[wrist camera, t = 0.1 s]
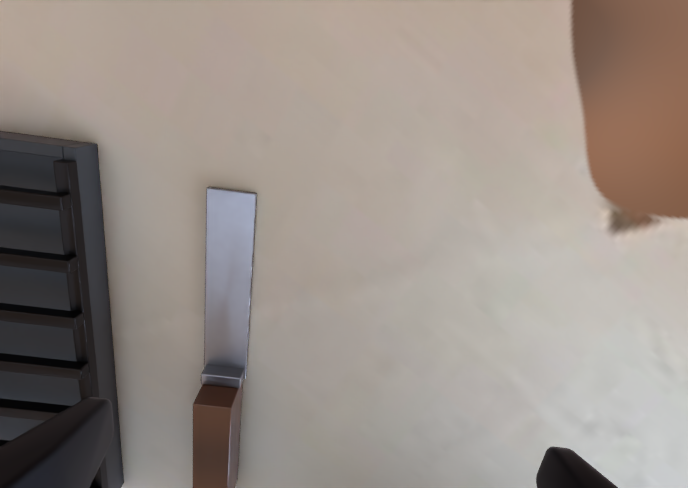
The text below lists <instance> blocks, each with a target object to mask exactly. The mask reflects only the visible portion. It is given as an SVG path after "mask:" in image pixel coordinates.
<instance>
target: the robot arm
mask: <svg viewBox="0 0 688 488" xmlns="http://www.w3.org/2000/svg"><path fill="white" fill-rule="evenodd" d="M113 435H114V422H113V411H112V403H111V401H110V400H109V399H106V398H96V397H88V398H86V399H83V400H82V401H80V402H78V403H76V404H75V405H73V406H71V407H69V408H67V409H66V410H64V411H62V412H60V413H59V414H57V415H55V416H53V417H52V418H50V419H48V420H46V421H44V422H43V423H41V424H39V425H37V426H36V427H34V428H32V429H30V430H28V431H27V432H25V433H23V434H21V435H20V436H18V437H16V438H14V439H13V440H11V441H9V442H7V443H5V444H4V445H2V446H0V488H89V487H90V485H91V483H92V481H93V479H94V477H95V475H96V473H97V471H98V469H99V467H100V465H101V463H102V461H103V459H104V457H105V455H106V453H107V450H108V448H109V446H110V444H111V442H112V439H113ZM536 483H537V488H618V487H616V486H615V485H614V484H613V483H612V482H610V481H609V480H608V479H607V478H605V477H604V476H603V475H602V474H601V473H599V472H598V471H597V470H596V469H594V468H593V467H592V466H591V465H590V464H588V463H587V462H586V461H585V460H583V459H582V458H581V457H580V456H579V455H577V454H576V453H575V452H574V451H572V450H570V449H568V448H560V447H550V448H549V449H547V451H546V453H545V456H544V458H543V461H542V463H541V465H540V468H539V470H538V473H537V478H536Z"/></svg>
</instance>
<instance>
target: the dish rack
mask: <svg viewBox="0 0 688 488" xmlns="http://www.w3.org/2000/svg"><path fill="white" fill-rule="evenodd" d="M88 397H96V398H106V399H109V400H110V401H111V403H112V411H113V422H114V435H113V439H112V442H111V444H110V446H109V448H108V450H107V453H106V455H105V457H104V459H103V461H102V463H101V465H100V467H99V469H98V471H97V473H96V475H95V477H94V479H93V481H92V483H91V485H90V487H89V488H121V487H122V485H123V483H124V481H123V468H122V455H121V443H120V430H119V417H118V405H117V392H116V379H115V367H114V354H113V341H112V328H111V316H110V303H109V290H108V278H107V265H106V252H105V240H104V227H103V214H102V202H101V189H100V176H99V164H98V151H97V144H95V143H87V142H79V141H72V140H64V139H57V138H49V137H42V136H34V135H27V134H19V133H11V132H4V131H0V446H2V445H4V444H5V443H7V442H9V441H11V440H13V439H14V438H16V437H18V436H20V435H21V434H23V433H25V432H27V431H28V430H30V429H32V428H34V427H36V426H37V425H39V424H41V423H43V422H44V421H46V420H48V419H50V418H52V417H53V416H55V415H57V414H59V413H60V412H62V411H64V410H66V409H67V408H69V407H71V406H73V405H75V404H76V403H78V402H80V401H82V400H83V399H86V398H88Z"/></svg>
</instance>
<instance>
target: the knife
mask: <svg viewBox="0 0 688 488" xmlns="http://www.w3.org/2000/svg"><path fill="white" fill-rule="evenodd" d="M256 202H257V193H251V192H244V191H236V190H228V189H220V188H213V187H208V188H207V205H206V277H205V348H204V370H203V372H202V373H201V384H203V385H202V387H201V389H200V391H199V393H198V395H197V397H196V399H195V401H194V403H193V488H235V486H236V483H237V479H238V461H239V442H240V424H241V406H242V388H243V379H246V374H247V357H248V340H249V322H250V305H251V288H252V271H253V254H254V236H255V219H256Z"/></svg>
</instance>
